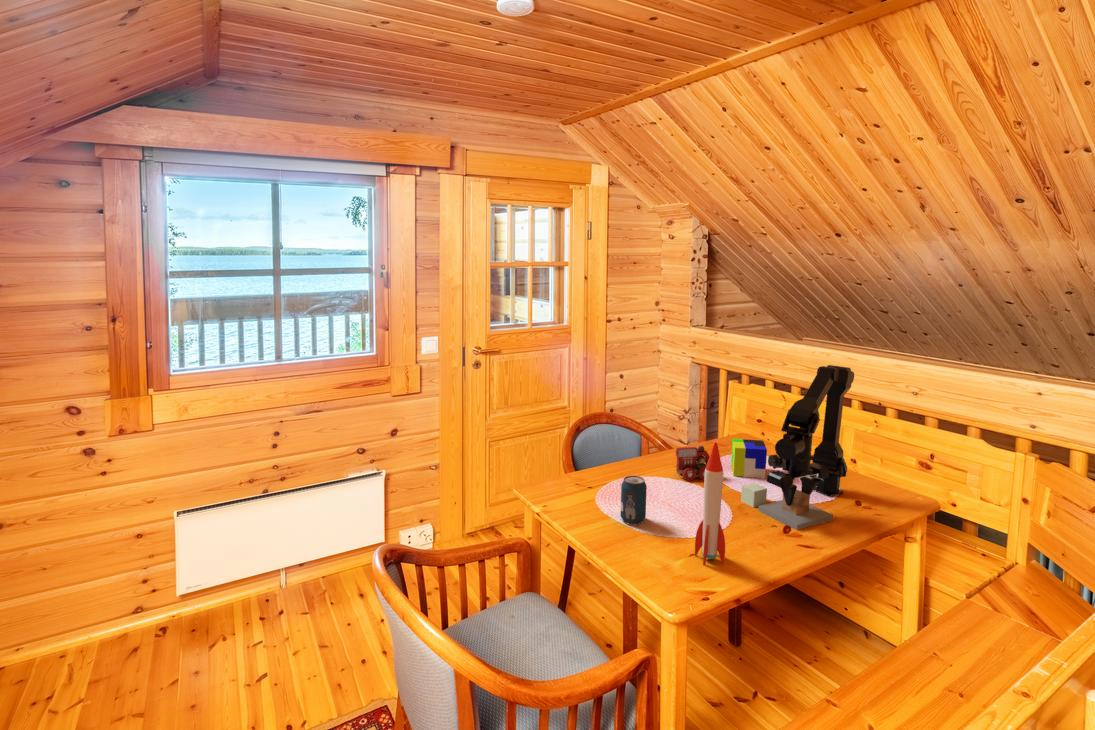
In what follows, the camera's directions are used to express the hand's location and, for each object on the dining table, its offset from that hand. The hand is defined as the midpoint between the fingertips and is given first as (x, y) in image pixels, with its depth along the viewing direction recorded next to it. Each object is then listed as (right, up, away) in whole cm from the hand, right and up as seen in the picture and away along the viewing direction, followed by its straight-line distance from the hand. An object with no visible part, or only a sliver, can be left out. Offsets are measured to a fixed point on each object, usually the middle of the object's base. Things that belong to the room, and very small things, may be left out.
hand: (795, 503), depth 180 cm
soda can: (-46, -4, -3) cm, 47 cm away
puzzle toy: (-3, +3, +35) cm, 35 cm away
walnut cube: (0, -2, 0) cm, 2 cm away
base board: (0, -3, +1) cm, 4 cm away
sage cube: (-9, -2, +9) cm, 13 cm away
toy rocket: (-31, -9, -24) cm, 40 cm away
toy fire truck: (-22, +2, +30) cm, 38 cm away
